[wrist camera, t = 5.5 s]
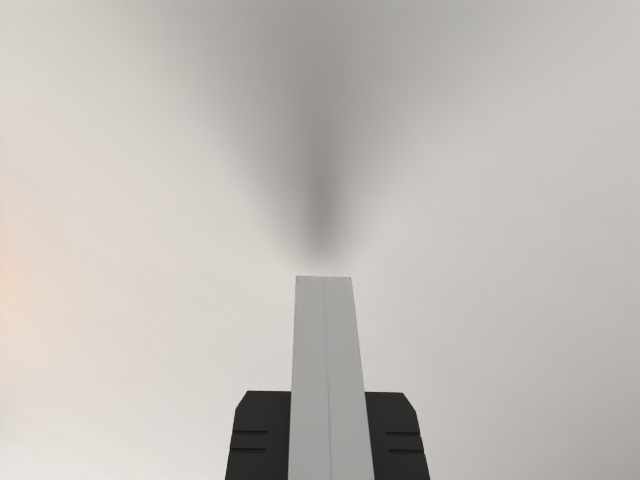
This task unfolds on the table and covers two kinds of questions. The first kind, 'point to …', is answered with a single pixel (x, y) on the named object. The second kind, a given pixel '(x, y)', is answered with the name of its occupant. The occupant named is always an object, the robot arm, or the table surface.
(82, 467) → the table surface
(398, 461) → the robot arm
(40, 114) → the table surface
